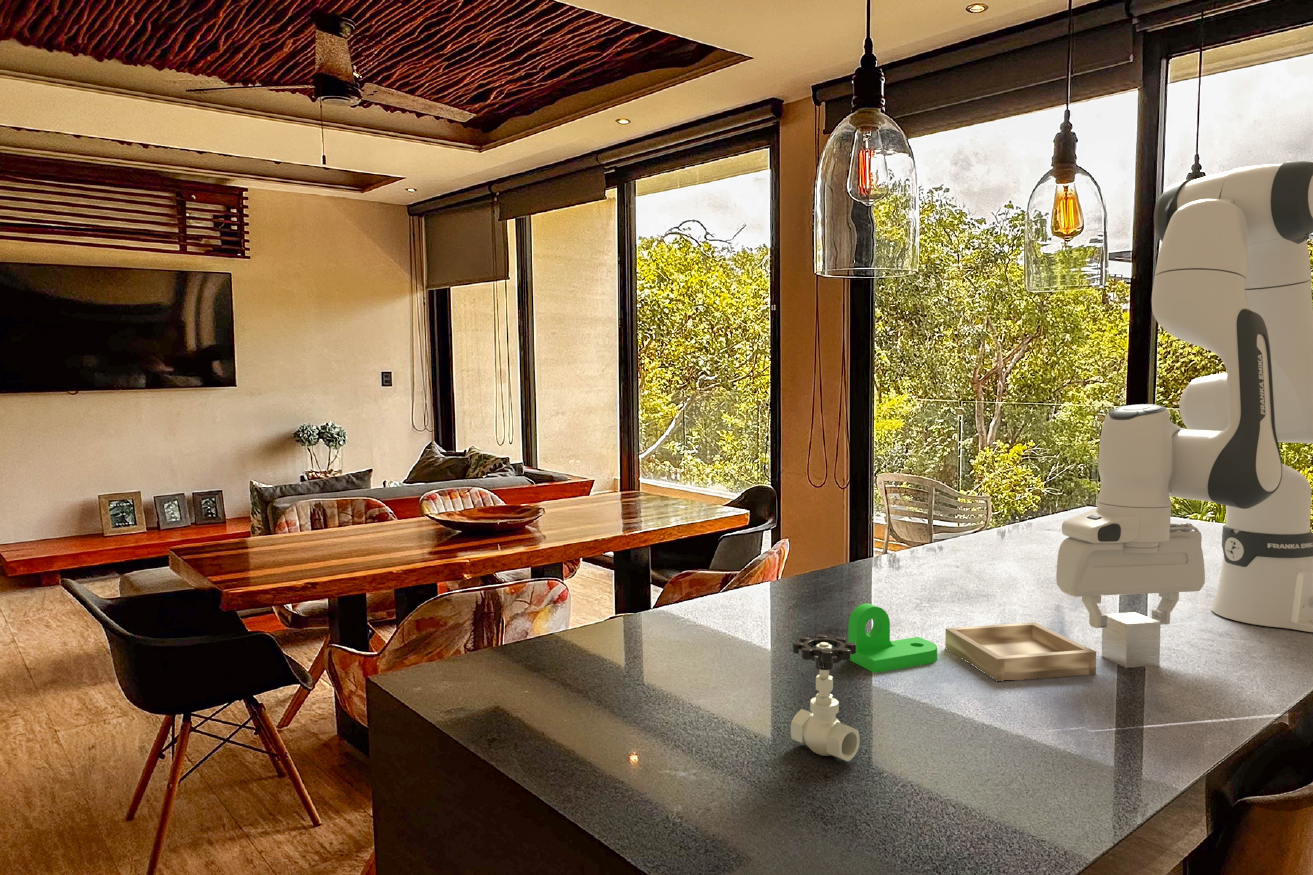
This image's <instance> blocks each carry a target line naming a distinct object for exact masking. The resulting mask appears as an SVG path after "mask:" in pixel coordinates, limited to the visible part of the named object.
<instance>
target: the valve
mask: <svg viewBox="0 0 1313 875" xmlns="http://www.w3.org/2000/svg"><path fill="white" fill-rule="evenodd" d="M798 637H799V638H798V641H793V642H792V654H793V653H794V654H797V655H799V654H800V650H801V659H802V660H804V661H805V660H806V661H813V662H814V668H815V669H817V670H819V674H817V675H816V676H815V690H816V691H818V692H817V693H816V694H815V696H814V697H812V698H811V699H810V701H809V702H810V703H809V710H810V711H809V710H806V709H803V708H801V709H800V710H798V711H797V712H796V714H795V715H794V717H793V719H792V720H791V724H790V737H791V740H794V741H796V742H799V743H801V744H802V745H806V746H807V747H808V748H809V749H810V750H811V751H812V752H813V753H814V754H815V753H816V754H817V755H820V756H822V757H824V756H826V757H828V756H833V757H835V758H838V759H840V760H844V761H846V762H850V761H851V760H852V759H853V758H854V757H855V756H856V754H857V752H858V750H859V748H860V732H859V730H858V729H856V728H854V727H852V726H849V725H848V724H847V725H846V724H844V723H841V721H840V720H839V719H838V718H837V716H836V715H837V714H838V713H839V711H840V710H839V709H840V708H839V707H840V706H839V705H840V703H839V701H838V699H836V698H834V694H831V692H832V691H833V689H834V676H832V675H830V670H833V669H834V668H835V666H834V665H835V664H838V663H841V662H842V661H850V659H851V654H856V644H855V643H853V642H848V641H847V638H846V637H845V636H836V637H835V638H828V635H826V634H821V633H820V634H817V635H816V637H815V638H810V637H809V636H807V635H806V636H803V635H802V636H798ZM833 647H835V648H833Z"/></svg>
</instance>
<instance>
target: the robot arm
mask: <svg viewBox="0 0 1313 875" xmlns="http://www.w3.org/2000/svg"><path fill="white" fill-rule="evenodd" d="M1153 226H1154V231H1155V233H1156V235H1157V237H1158V238H1159V240H1160V241H1161V244H1160V248H1159V249H1160V250H1159V251H1158V257H1157V261H1156V266H1155V272H1154V279H1153V283H1152V284H1153V286H1152V291H1151V310H1152V315H1153V317H1154V319H1155V320H1156V323H1157V324H1158V325H1159V326H1160V327H1161V328H1162V330H1164V331H1165V332H1166V333H1168V334H1169V335H1171V336H1173V337H1174V338H1176V339H1178V340H1180V341H1183V342H1185V343H1188V344H1190V345H1194V346H1196V347H1200V348H1203V349H1206V350H1208V351H1210V352H1211V353H1214V354H1215V355H1216V356H1217V357H1219V358H1220V359H1221V361H1222V362H1223V364H1224V367H1225V371H1226V372H1222V373H1216V374H1210V375H1206V376H1205V375H1204V376H1200V377H1196V378H1194V379H1193V380H1191V381H1190V382H1189V383H1188V384H1187V385H1186V387H1185V388H1184V390H1183V391H1182V393H1181V396H1180V398H1179V410H1178V411H1179V415H1180V418H1181V421H1182V423H1183V424H1184V425H1185V427H1186V428H1183V427H1182V428H1181V426H1180V425H1177V424H1175V423H1173V422H1172V421H1171V418H1170V413H1169V410H1168V408H1166V407H1165V406H1162V405H1159V404H1153V403H1151V404H1150V403H1145V404H1144V403H1140V404H1131V405H1130V404H1128V405H1122V406H1117V407H1115V408H1113V409H1112V410H1110V411H1109V412H1108V411H1107V413H1106V414H1105V417H1104V420H1103V424H1102V427H1101V433H1100V439H1099V447H1098V460H1097V461H1098V463H1097V465H1098V466H1097V469H1098V475H1099V478H1100V487H1099V488H1100V489H1099V492H1098V494H1097V499H1096V501H1097V502H1096V508H1093V509H1091V510H1089V511H1086V512H1083V513H1082V514H1079V515H1077V516H1073V517H1070V518H1068V519H1066V520H1064V521H1063V522H1062V524H1061V533H1062V534H1063V535H1064V536H1065V537H1066V538H1065V539H1063V541H1062V542H1061V543H1060V545H1059V549H1058V552H1057V561H1056V563H1057V564H1056V571H1055V572H1056V573H1055V574H1056V576H1055V577H1056V578H1055V579H1056V580H1055V582H1056V586H1057V587H1058V589H1059V590H1060V591H1061V592H1062V593H1064V594H1067V595H1069V596H1072V597H1076V598H1077V597H1079V598H1080V597H1081V601H1082V603H1083V605H1084V606H1085V608H1086V610H1087V612H1088V613H1089V614H1088V615H1089V620H1088V621H1089V625H1090V627H1093V628H1095V629H1102V628H1104V627H1107V620H1108V615H1105V614H1106V613H1102V612H1101V609H1100V606H1099V605H1098V604H1102V596H1105V597H1106V596H1120V595H1121V596H1122V595H1127V596H1128V595H1144V594H1145V595H1146V594H1158V597H1160V599H1161V600H1160V601H1159V603H1158V605H1157V607H1156V609H1153V608H1152V609H1151V617H1150V618H1152V619H1154V620H1157V621H1159V622H1160V626H1161V625H1163V626H1165V625H1170V623H1171V613H1172V611H1173V610H1174V609H1175V607H1176V605H1177V603H1178V601H1180V600H1179V599H1180V593H1188V592H1189V593H1190V592H1191V593H1192V592H1199V591H1201V589H1202V588H1203V587H1204V585H1205V583H1206V580H1205V579H1206V571H1205V568H1206V567H1205V559H1204V554H1203V553H1204V551H1203V548H1202V540H1203V539H1202V538H1203V537H1202V533H1201V531H1200V530H1199V529H1198V528H1197V527H1196V526H1194V525H1193V524H1192V523H1189V522H1187V523H1186V522H1182V523H1171V518H1172V517H1171V516H1172V515H1171V514H1172V512H1171V511H1172V510H1171V509H1172V501H1171V497H1173V498H1178V499H1186V500H1195V501H1202V502H1210V503H1211V502H1212V503H1215V504H1218V505H1223V506H1225V525H1223V526H1222V534H1221V548H1222V554H1223V558H1222V559H1223V560H1222V564H1221V570H1220V575H1219V580H1218V585H1217V590H1216V594H1215V596H1214V600H1213V602H1212V606H1211V608H1210V610H1211V611H1212V612H1213V613H1214V614H1216V615H1218V616H1220V617H1222V618H1225V619H1230V620H1233V621H1237V622H1241V623H1245V624H1250V625H1256V626H1257V625H1258V626H1262V627H1263V626H1264V627H1272V628H1273V627H1274V628H1280V629H1282V628H1283V629H1291V630H1296V631H1302V632H1308V633H1313V532H1312V531H1311V509H1312V508H1311V507H1312V487H1311V484H1310V483H1309V480H1308V479H1307V478H1306V477H1305V476H1304V475H1303V474H1302V473H1301V472H1300V471H1298V470H1296V469H1295V468H1293V467H1291V466H1288V465H1287V464H1284V463H1283V462H1282V455H1281V451H1280V450H1281V449H1280V445H1279V443H1290V444H1291V443H1293V444H1296V443H1297V444H1311V445H1312V444H1313V295H1312V294H1313V293H1312V275H1311V274H1312V273H1311V272H1312V270H1311V260H1310V259H1311V258H1310V254H1309V253H1310V252H1309V247H1308V246H1309V245H1308V242H1307V238H1308V236H1310V235H1311V234H1313V161H1306V160H1305V161H1304V160H1287V161H1285V162H1283V163H1276V164H1275V163H1273V164H1272V163H1271V164H1261V165H1260V164H1259V165H1250V166H1244V167H1237V168H1233V169H1232V170H1229V171H1224V172H1219V173H1214V174H1210V175H1207V176H1203V177H1199V178H1196V179H1195V178H1188V179H1184V180H1181V181H1179V182H1176V183H1174V184H1171V185H1170V186H1168V187H1166V189H1165V190H1164V191H1163V192H1162V193H1161V195H1160V196H1159V197H1158V199H1157V201H1156V204H1155V206H1154V210H1153Z"/></svg>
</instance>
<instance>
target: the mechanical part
mask: <svg viewBox="0 0 1313 875" xmlns="http://www.w3.org/2000/svg"><path fill="white" fill-rule="evenodd" d="M871 620H872V626H871V627H872V628H871V630H870V631H869V632H867V633H866V626H867V624H868V622H869V621H871ZM847 624H848V627H847V628H848V630H847V631H848V632H847V635H848V636H847V637H848V640H847V642H853V643H855V644H856V654H851V659H850V660H849V661H851V662H853V663H855V664H857V665H859V666H860V667H862V668H865V670H868V671H870V672H872V673H874V674H876V673H882V672H888V671H893V670H902V669H905V668H912V667H918V666H923V664H924V665H929V664H933V663H936V661H937V660H938V645H937V644H936V643H934V642H933V641H932V642H931V641H930V640H927V639H925V638H922V637H920V636H915V637H909V638H908V637H907V638H901V639H896V640H891V621H890V617H889V614H888V613H887V612H886V610H885V609H883V608H882V607H880V606H877V605H874V604H872V603H869V602H868V603H865V602H864V603H862V604H861V603H860V604H859V605H858V606H856V607H855V608H854V609H853V611H852V612H851V614H850V616H849V618H848V623H847ZM911 666H912V667H911Z"/></svg>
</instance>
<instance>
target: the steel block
mask: <svg viewBox="0 0 1313 875" xmlns="http://www.w3.org/2000/svg"><path fill="white" fill-rule="evenodd" d="M1104 614H1105V615H1108V620H1107V627H1104V628H1101V630H1102V631H1101V657H1103V656H1104V657H1103V658H1105V659H1107V658H1108V659H1107V660H1109V661H1111V662H1113V663H1116V664H1118V665H1119V666H1121V667H1123V666H1124V668H1125V669H1126V668H1127V669H1129V667H1130V668H1138V667H1139V668H1140V666H1142V667H1151V666H1153V667H1154V666H1160V659H1161V657H1160V656H1161V625H1160V622H1159V621H1157V620H1154V619H1152V618H1151V617H1149V616H1146V615H1143V614H1141V613H1138V612H1136V611H1132V612H1131V611H1129V612H1116V613H1104Z"/></svg>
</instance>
